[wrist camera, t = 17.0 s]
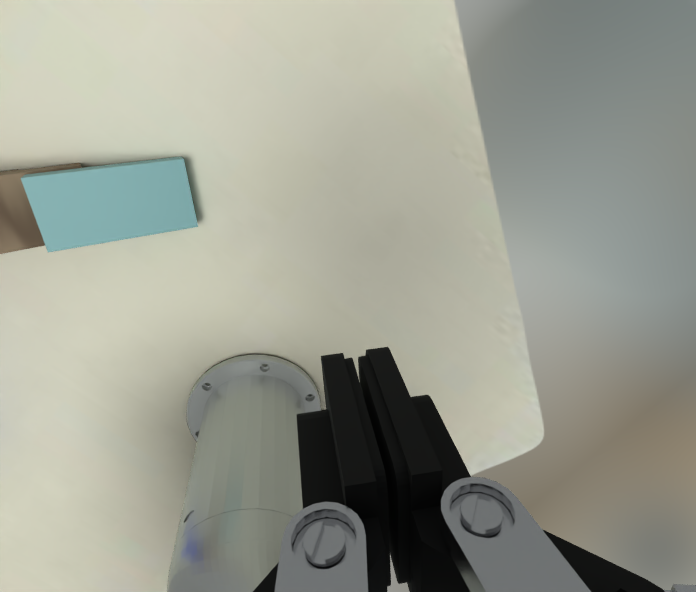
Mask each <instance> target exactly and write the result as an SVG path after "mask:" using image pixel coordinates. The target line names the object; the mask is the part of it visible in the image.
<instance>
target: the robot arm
mask: <svg viewBox="0 0 696 592" xmlns="http://www.w3.org/2000/svg"><path fill="white" fill-rule="evenodd" d="M321 362H322V372H323V381H324V391H325V400H326V410H321V406H320V399H319V394H318V391H317V389H316V386H315V384H314V382H313V381H312V380H311V379H310V377H309V376H308V375H307V374H306V373H305V372H304V371H303V370H302V369H300V368H299V367H298V366H296V365H294V364H292V363H291V362H289V361H286V360H283V359H281V358H278V357H273V356H267V355H245V356H239V357H234V358H231V359H228V360H225V361H223V362H221V363H219V364H217V365H215V366H214V367H212V368H211V369H210V370H208V371H207V372H206V373H204V374H203V375H202V377H201V378H200V379H199V380H198V381H197V382H196V384H195V386H194V388H193V389H192V391H191V393H190V397H189V400H188V404H187V411H186V417H187V424H188V427H189V430H190V432H191V434H192V436H193V437H194V439H195V440H196V442H197V445H196V449H195V454H194V458H193V463H192V468H191V472H190V477H189V482H188V486H187V491H186V496H185V500H184V505H183V509H182V514H181V519H180V523H179V528H178V533H177V537H176V542H175V546H174V551H173V555H172V560H171V565H170V570H169V576H168V584H167V592H387V586H390V585H391V574H390V554H391V558H392V562H393V566H394V570H395V574H396V578H397V581H398V583H399V584H400V583H405V582H407V584H408V587H409V591H410V592H696V585H677V584H673V586H672V588H671V590H663V589H661V588H660V587H658V586H656V585H655V584H653V583H651V582H650V581H648V580H646V579H644V578H642V577H640V576H638V575H636V574H634V573H632V572H630V571H628V570H626V569H624V568H621V567H619V566H617V565H615V564H613V563H611V562H609V561H607V560H605V559H603V558H601V557H599V556H597V555H594V554H592V553H590V552H588V551H586V550H584V549H582V548H580V547H578V546H576V545H573V544H572V543H569V542H567V541H565V540H563V539H561V538H559V537H556V536H555V535H553V534H551V533H549V532H546V531H545V530H542V529H541V528H540V526H539V525H538V524H537V522H536V521H535V520H534V519H533V517H532V516H531V515H530V514H529V512H528V511H527V510H526V509H525V507H524V506H523V505H522V504H521V502H520V501H519V500H518V498H517V497H516V496H515V495H514V494H513V493H512V492H511V491H510V490H509V489H508V488H506V487H504V486H502V485H501V484H499V483H498V482H496V481H492V480H489V479H486V478H480V477H471V476H470V474H469V472H468V470H467V468H466V466H465V464H464V462H463V460H462V458H461V456H460V454H459V452H458V450H457V448H456V446H455V444H454V442H453V441H452V439H451V437H450V435H449V433H448V431H447V429H446V427H445V425H444V423H443V421H442V419H441V417H440V415H439V413H438V411H437V409H436V407H435V405H434V403H433V401H432V399H431V398H430V396H428V395H422V396H415V397H410V395H409V392H408V390H407V388H406V386H405V383H404V381H403V379H402V377H401V374H400V372H399V370H398V368H397V365H396V363H395V361H394V358H393V356H392V354H391V352H390V349H389V348H388V347H384V348H377V349H369V350H366V356H361V357H359V358H358V363H359V379H358V376H357V372H356V369H355V365H354V362H353V359H352V358H346V359H344V355H343V353H340V354H332V355H325V356H321ZM359 380H360V383H359Z"/></svg>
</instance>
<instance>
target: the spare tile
mask: <svg viewBox="0 0 696 592" xmlns="http://www.w3.org/2000/svg"><path fill="white" fill-rule="evenodd" d="M21 181H22V184H23V186H24V189H25V192H26V194H27V197H28V200H29V202H30V205H31V208H32V210H33V213H34V216H35V219H36V221H37V224H38V227H39V229H40V232H41V235H42V237H43V240H44V243H45V246H46V248H47V251H48V252H53V251H59V250H65V249H70V248H76V247H82V246H88V245H94V244H100V243H106V242H111V241H117V240H123V239H129V238H135V237H141V236H146V235H152V234H158V233H164V232H170V231H176V230H181V229H187V228H193V227H198V224H197V219H196V215H195V210H194V205H193V200H192V196H191V191H190V186H189V182H188V177H187V172H186V167H185V163H184V159H183V158H182V157H172V158H164V159H155V160H146V161H138V162H129V163H120V164H112V165H103V166H94V167H86V168H77V169H69V170H60V171H51V172H43V173H34V174H25V175H24V176H23V177H21Z"/></svg>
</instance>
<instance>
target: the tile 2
mask: <svg viewBox="0 0 696 592" xmlns="http://www.w3.org/2000/svg"><path fill="white" fill-rule="evenodd" d="M77 168H81V165H80V163H74V164H66V165H59V166H51V167H43V168H35V169H27V170H19V171H11V172H3V173H0V254H2V253H8V252H13V251H18V250H23V249H28V248H33V247H38V246H44V245H45V243H44V240H43V237H42V235H41V232H40V229H39V227H38V224H37V221H36V219H35V216H34V213H33V210H32V208H31V205H30V202H29V200H28V197H27V194H26V192H25V189H24V186H23V184H22V181H21V177H23V176H24V175H25V174H34V173H43V172H51V171H60V170H69V169H77Z"/></svg>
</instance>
